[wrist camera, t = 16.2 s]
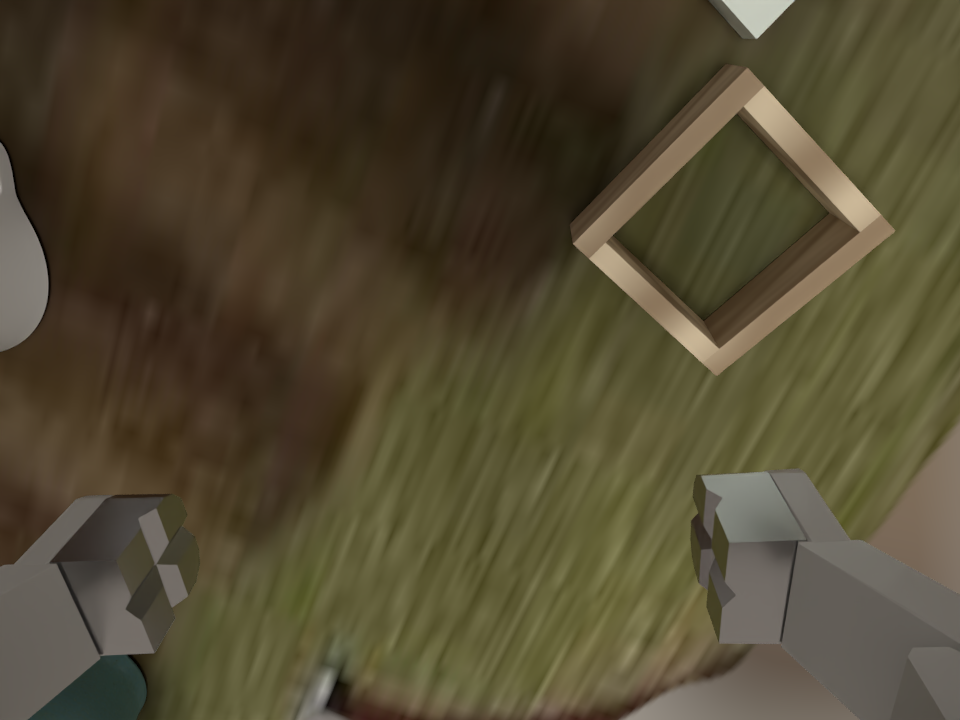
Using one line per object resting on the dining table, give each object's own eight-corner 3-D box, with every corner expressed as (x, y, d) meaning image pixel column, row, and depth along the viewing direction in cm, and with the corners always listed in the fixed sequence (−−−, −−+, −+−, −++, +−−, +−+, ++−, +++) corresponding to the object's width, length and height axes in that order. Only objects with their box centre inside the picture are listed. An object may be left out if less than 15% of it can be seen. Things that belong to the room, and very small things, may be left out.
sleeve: (569, 224, 39) (572, 243, 35) (726, 63, 35) (747, 67, 31) (701, 346, 42) (716, 376, 38) (861, 211, 37) (895, 230, 34)
